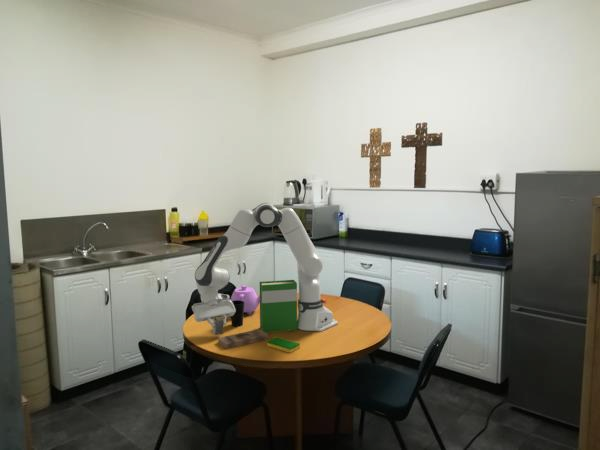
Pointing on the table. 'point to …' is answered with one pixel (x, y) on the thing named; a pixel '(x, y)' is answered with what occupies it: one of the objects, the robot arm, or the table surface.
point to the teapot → (246, 298)
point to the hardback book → (278, 305)
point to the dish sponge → (283, 344)
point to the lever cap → (218, 326)
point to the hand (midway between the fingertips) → (219, 325)
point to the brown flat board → (243, 338)
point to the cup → (238, 313)
